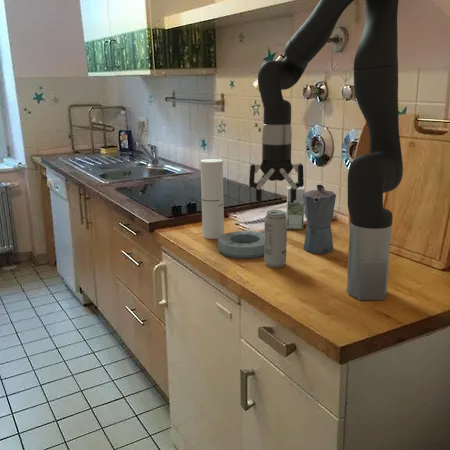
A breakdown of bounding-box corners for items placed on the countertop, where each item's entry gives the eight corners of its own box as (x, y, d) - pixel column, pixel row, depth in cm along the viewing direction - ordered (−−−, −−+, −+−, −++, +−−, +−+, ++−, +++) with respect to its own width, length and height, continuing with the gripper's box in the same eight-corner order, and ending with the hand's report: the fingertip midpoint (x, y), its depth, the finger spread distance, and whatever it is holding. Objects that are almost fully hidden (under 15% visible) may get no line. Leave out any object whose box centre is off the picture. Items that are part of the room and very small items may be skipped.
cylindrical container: (199, 234, 168) (196, 160, 161) (218, 231, 171) (217, 158, 164) (207, 240, 162) (205, 163, 155) (227, 236, 164) (226, 161, 157)
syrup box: (302, 225, 176) (303, 184, 172) (303, 230, 170) (304, 188, 166) (286, 225, 177) (287, 184, 173) (286, 229, 171) (287, 188, 167)
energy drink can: (287, 268, 136) (288, 214, 132) (265, 268, 136) (265, 215, 132) (284, 260, 142) (285, 209, 138) (263, 261, 142) (263, 209, 138)
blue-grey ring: (273, 258, 144) (273, 246, 143) (217, 259, 144) (217, 247, 143) (269, 241, 159) (269, 230, 158) (218, 241, 159) (218, 231, 158)
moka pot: (299, 256, 145) (301, 188, 140) (304, 240, 160) (305, 178, 154) (332, 258, 143) (335, 189, 137) (334, 241, 157) (337, 179, 152)
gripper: (249, 143, 126) (249, 206, 131) (306, 143, 126) (304, 205, 130) (248, 140, 133) (248, 199, 138) (302, 139, 133) (300, 198, 138)
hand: (275, 202), depth 134 cm, fingers open, 8 cm apart
